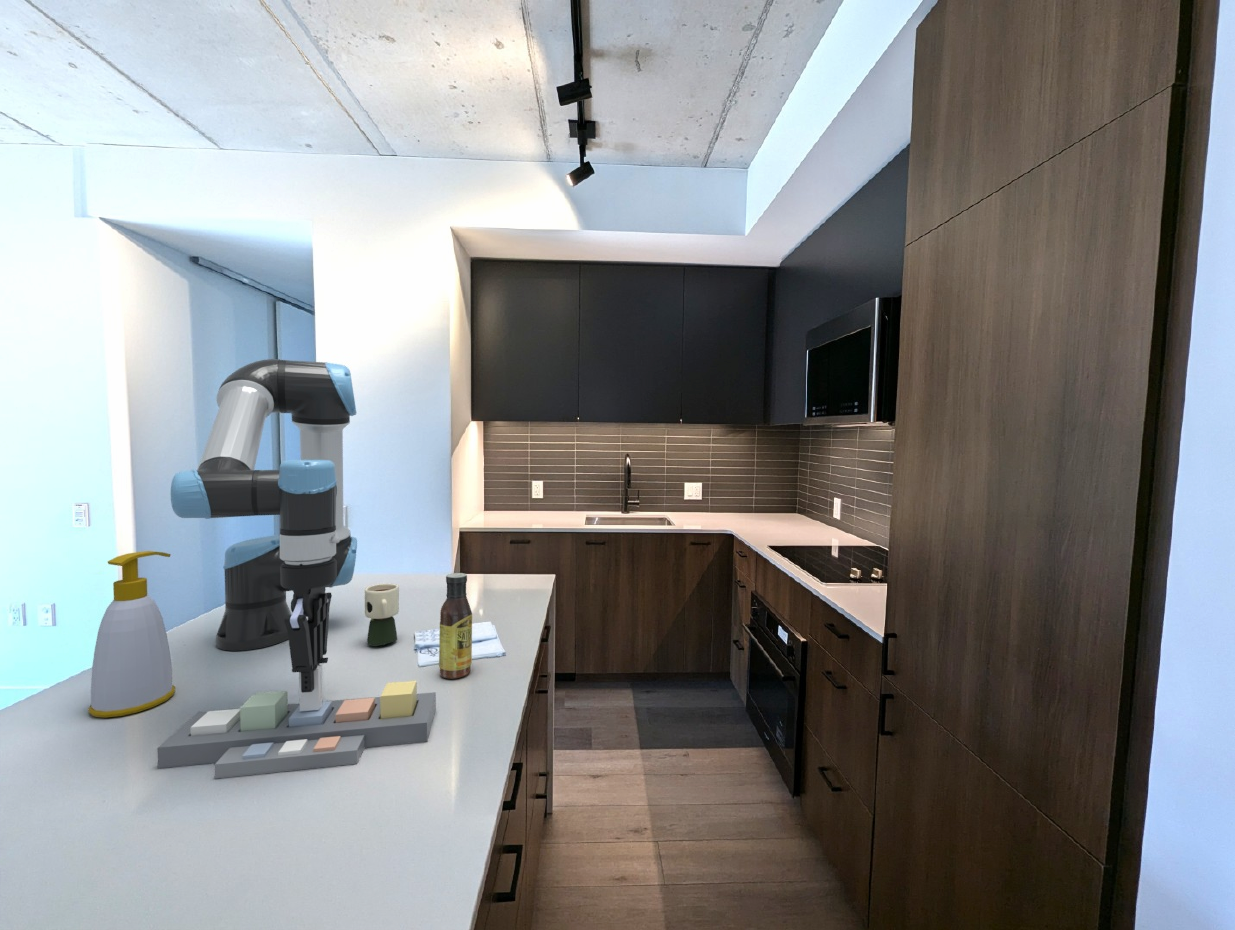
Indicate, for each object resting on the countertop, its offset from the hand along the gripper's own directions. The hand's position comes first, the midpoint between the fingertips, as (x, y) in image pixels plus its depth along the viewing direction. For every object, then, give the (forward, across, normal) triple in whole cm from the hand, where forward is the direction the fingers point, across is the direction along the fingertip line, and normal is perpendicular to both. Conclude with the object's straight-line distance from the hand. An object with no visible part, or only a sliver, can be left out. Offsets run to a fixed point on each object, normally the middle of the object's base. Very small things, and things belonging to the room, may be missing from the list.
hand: (311, 708), depth 82 cm
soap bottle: (+5, +17, +34) cm, 38 cm away
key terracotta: (+4, 0, -6) cm, 8 cm away
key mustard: (+2, 0, -13) cm, 13 cm away
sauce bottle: (+5, +19, -20) cm, 28 cm away
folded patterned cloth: (+5, +34, -19) cm, 39 cm away
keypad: (+4, -2, 0) cm, 5 cm away
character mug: (+5, +38, -2) cm, 38 cm away
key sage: (+2, 0, +7) cm, 7 cm away
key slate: (+4, 0, 0) cm, 4 cm away
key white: (+4, 0, +13) cm, 14 cm away
